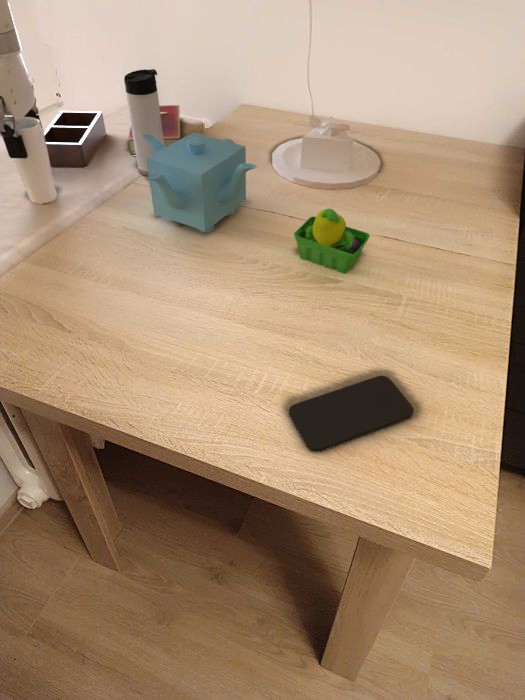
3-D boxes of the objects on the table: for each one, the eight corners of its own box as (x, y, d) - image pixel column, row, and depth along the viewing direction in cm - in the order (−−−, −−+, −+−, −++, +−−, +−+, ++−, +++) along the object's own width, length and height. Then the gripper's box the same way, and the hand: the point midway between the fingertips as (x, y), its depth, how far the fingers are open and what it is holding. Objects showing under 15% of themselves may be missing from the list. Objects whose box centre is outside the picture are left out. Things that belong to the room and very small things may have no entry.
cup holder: (41, 167, 112) (34, 143, 108) (66, 132, 126) (60, 110, 122) (86, 168, 112) (81, 144, 108) (106, 133, 126) (102, 111, 122)
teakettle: (237, 188, 106) (235, 117, 96) (258, 235, 94) (259, 158, 83) (147, 198, 103) (135, 125, 92) (157, 248, 90) (144, 169, 80)
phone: (285, 406, 64) (385, 372, 68) (285, 410, 64) (384, 376, 68) (312, 452, 59) (417, 413, 63) (311, 456, 59) (416, 417, 64)
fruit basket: (366, 258, 89) (378, 200, 81) (346, 284, 83) (356, 224, 75) (309, 239, 93) (315, 182, 85) (286, 263, 87) (290, 204, 79)
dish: (380, 193, 106) (390, 140, 98) (263, 183, 108) (265, 130, 100) (379, 146, 123) (388, 98, 115) (279, 138, 126) (281, 89, 118)
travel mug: (171, 173, 111) (160, 74, 97) (141, 178, 109) (125, 78, 95) (164, 162, 115) (152, 65, 101) (135, 166, 113) (119, 68, 99)
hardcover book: (129, 156, 117) (126, 138, 114) (134, 122, 131) (132, 105, 128) (181, 154, 118) (179, 136, 115) (180, 120, 133) (179, 103, 130)
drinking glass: (65, 191, 104) (44, 116, 94) (56, 207, 99) (33, 130, 89) (32, 191, 104) (7, 116, 93) (22, 207, 99) (-5, 130, 89)
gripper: (-8, 28, 88) (23, 128, 100) (-52, 57, 76) (-10, 166, 88) (35, 29, 88) (61, 129, 100) (-3, 58, 76) (32, 167, 88)
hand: (27, 146), depth 94 cm, fingers open, 9 cm apart
